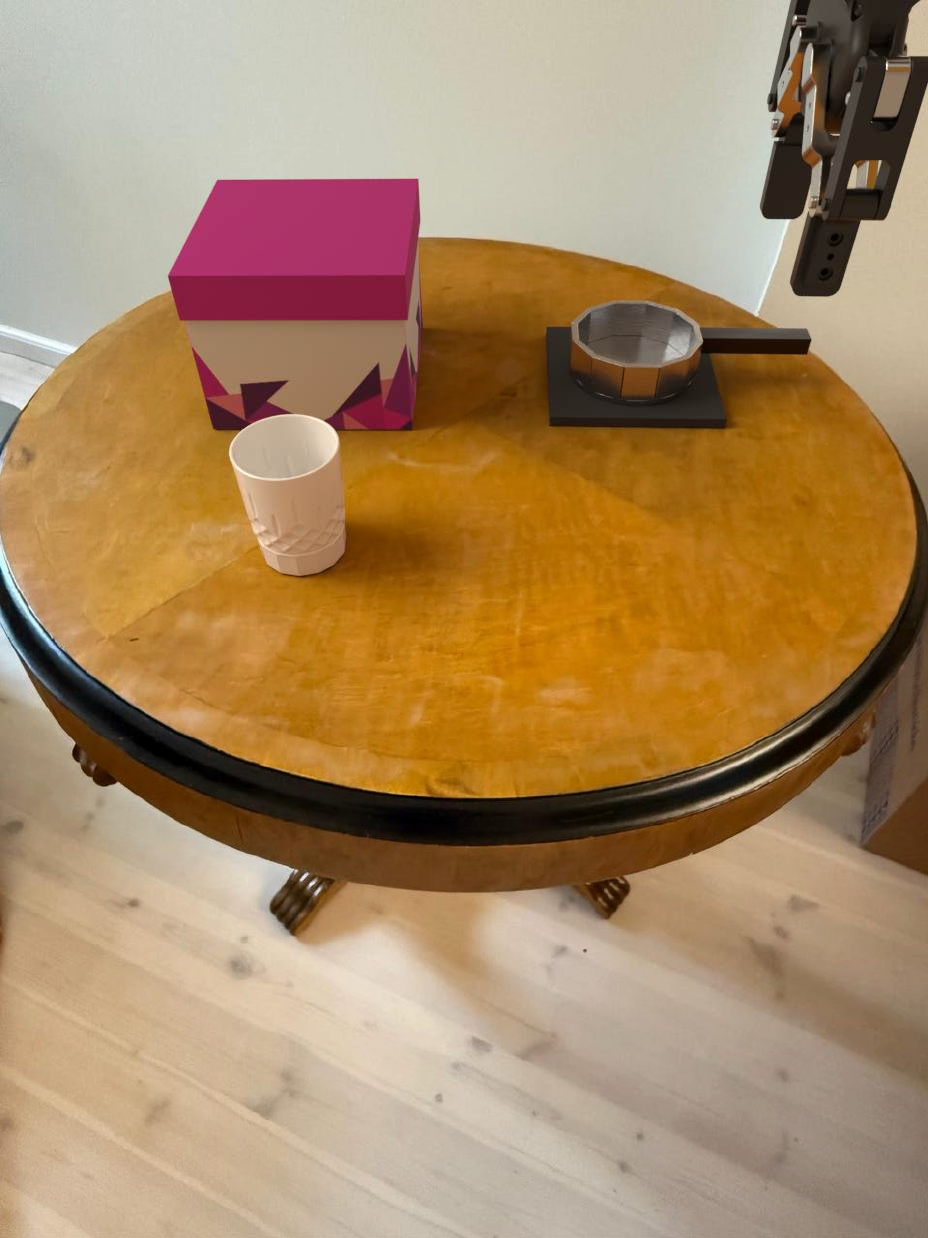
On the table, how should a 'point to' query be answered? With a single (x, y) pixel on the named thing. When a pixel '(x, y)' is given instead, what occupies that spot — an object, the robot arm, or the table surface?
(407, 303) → the decorative box
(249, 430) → the white cup
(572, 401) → the trivet
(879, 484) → the table surface
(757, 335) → the steel pan
